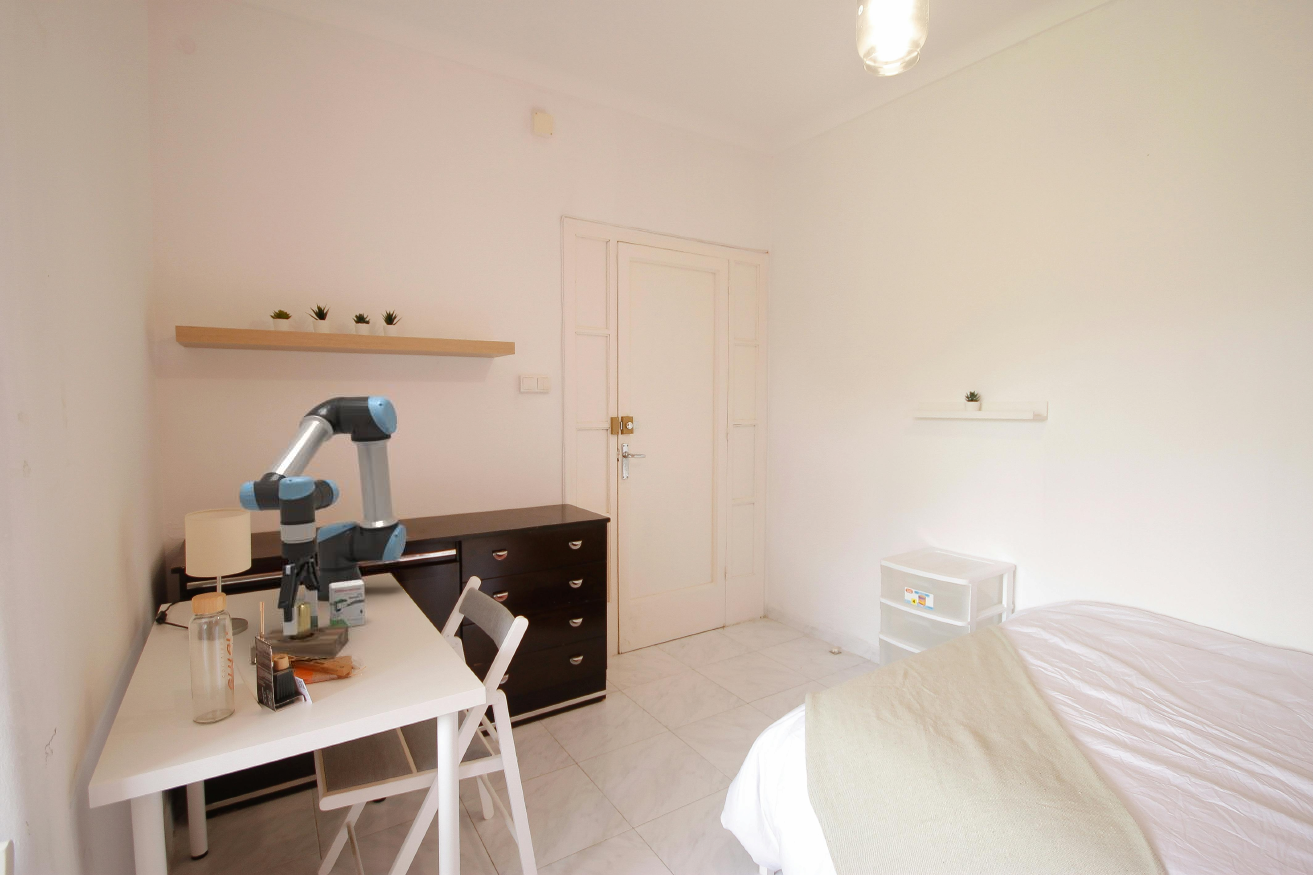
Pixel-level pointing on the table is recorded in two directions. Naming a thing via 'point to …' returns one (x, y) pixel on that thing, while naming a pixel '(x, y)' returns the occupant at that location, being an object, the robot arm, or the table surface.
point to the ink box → (347, 603)
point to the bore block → (307, 643)
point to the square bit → (313, 618)
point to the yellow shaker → (303, 621)
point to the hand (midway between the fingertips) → (301, 624)
